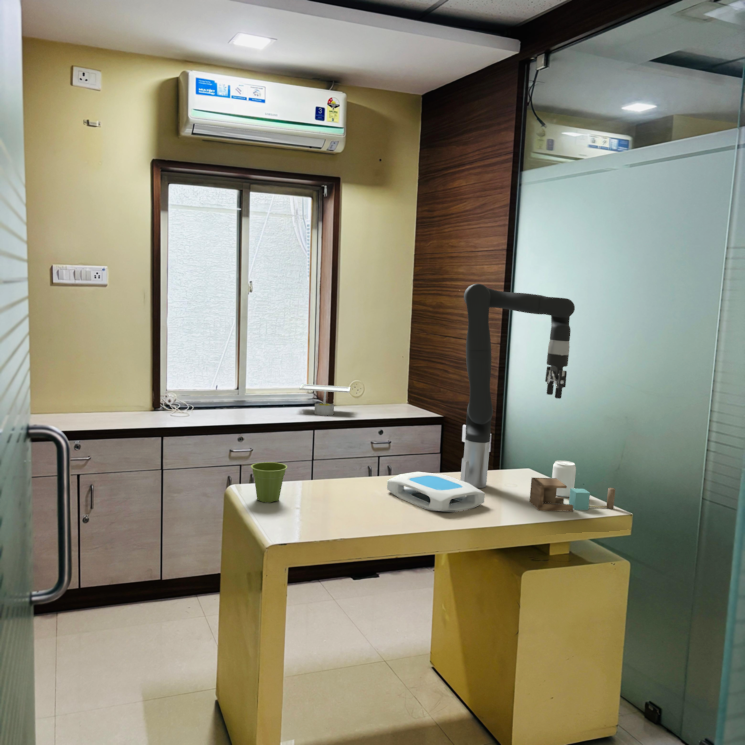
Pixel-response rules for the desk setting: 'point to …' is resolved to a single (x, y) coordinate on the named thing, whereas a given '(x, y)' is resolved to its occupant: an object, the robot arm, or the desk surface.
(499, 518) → the desk surface
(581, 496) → the tethered block
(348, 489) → the desk surface
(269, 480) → the plant pot
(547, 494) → the walnut cubby
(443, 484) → the aerobic step platform
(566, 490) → the beverage can
